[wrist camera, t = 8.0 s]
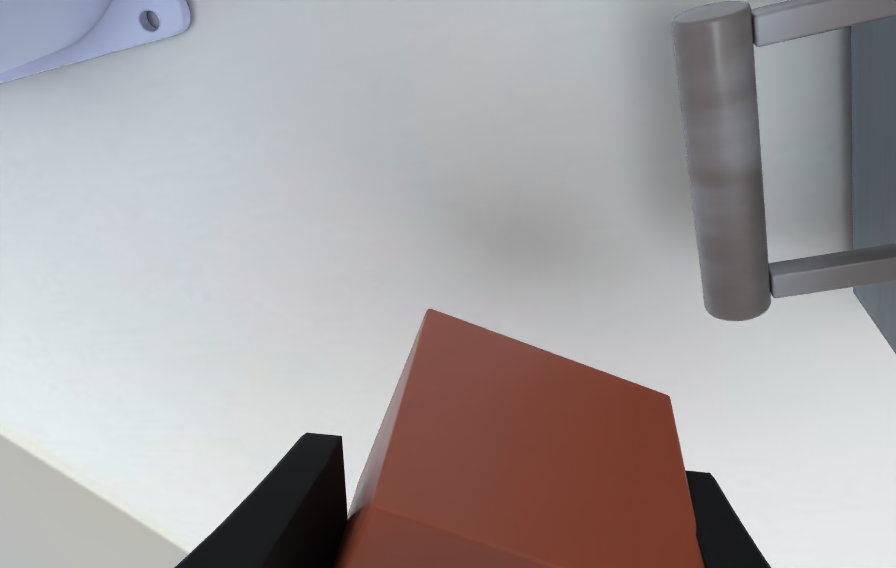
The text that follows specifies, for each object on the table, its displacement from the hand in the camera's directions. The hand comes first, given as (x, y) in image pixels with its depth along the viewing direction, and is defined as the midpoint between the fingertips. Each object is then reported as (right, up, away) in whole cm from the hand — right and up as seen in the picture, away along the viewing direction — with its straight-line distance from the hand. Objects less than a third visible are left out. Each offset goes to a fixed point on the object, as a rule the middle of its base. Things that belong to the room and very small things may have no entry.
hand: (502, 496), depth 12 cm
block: (0, +1, +1) cm, 1 cm away
